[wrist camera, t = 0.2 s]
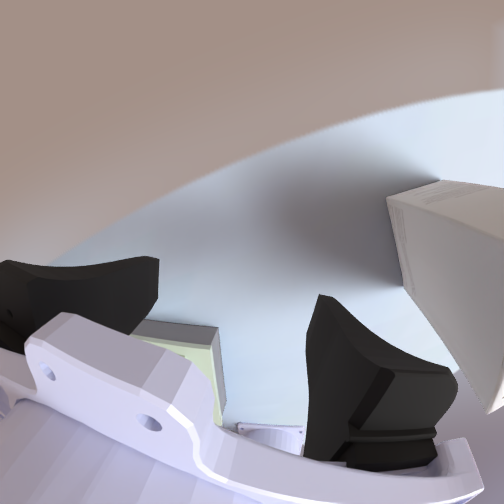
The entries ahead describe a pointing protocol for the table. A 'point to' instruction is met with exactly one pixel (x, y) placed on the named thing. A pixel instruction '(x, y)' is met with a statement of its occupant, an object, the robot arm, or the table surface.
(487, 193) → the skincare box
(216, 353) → the tub
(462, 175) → the table surface
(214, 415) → the lid
